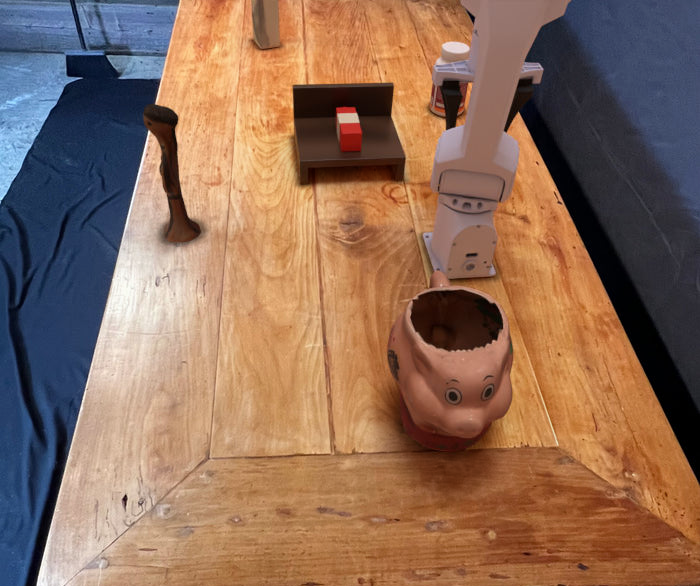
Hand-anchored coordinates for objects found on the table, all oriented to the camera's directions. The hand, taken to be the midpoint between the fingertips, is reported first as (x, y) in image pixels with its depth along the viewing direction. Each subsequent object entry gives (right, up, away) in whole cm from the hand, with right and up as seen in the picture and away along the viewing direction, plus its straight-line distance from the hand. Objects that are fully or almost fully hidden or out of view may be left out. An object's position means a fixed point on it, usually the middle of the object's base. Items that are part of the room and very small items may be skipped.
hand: (475, 132), depth 89 cm
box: (-35, +32, +40) cm, 62 cm away
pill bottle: (-1, +12, +24) cm, 27 cm away
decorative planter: (-8, -37, -21) cm, 43 cm away
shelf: (-18, 0, +12) cm, 22 cm away
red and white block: (-18, +2, +8) cm, 20 cm away
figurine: (-41, -15, -2) cm, 44 cm away
